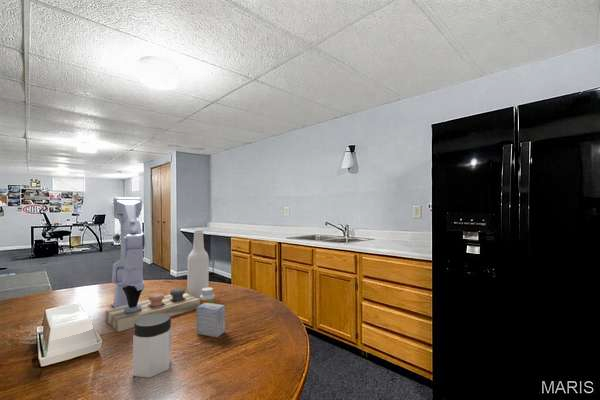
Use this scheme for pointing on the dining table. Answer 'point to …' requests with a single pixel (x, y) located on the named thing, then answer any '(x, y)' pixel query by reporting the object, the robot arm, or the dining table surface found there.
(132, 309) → the slate-blue plug
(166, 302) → the panel
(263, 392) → the dining table surface
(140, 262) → the robot arm
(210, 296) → the supplement bottle
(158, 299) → the terracotta plug
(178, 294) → the charcoal plug
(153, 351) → the jar
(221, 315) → the medicine box
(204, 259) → the alcohol
